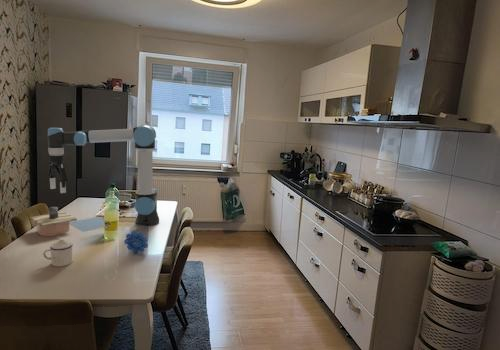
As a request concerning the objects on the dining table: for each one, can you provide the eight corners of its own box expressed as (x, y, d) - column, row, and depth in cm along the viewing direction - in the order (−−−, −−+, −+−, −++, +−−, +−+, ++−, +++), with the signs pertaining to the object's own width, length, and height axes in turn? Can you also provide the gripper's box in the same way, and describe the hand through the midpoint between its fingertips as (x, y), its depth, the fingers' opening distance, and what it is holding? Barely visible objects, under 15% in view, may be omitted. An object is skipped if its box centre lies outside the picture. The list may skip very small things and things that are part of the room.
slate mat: (118, 224, 212) (118, 224, 212) (83, 232, 195) (83, 231, 195) (101, 216, 226) (101, 216, 226) (67, 223, 209) (67, 222, 209)
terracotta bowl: (74, 231, 196) (74, 220, 195) (44, 238, 184) (43, 226, 182) (62, 224, 206) (62, 214, 205) (33, 230, 194) (33, 219, 192)
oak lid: (76, 220, 195) (76, 208, 194) (42, 226, 181) (42, 214, 180) (63, 213, 206) (63, 202, 205) (30, 219, 192) (30, 207, 191)
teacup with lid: (73, 257, 162) (73, 235, 160) (72, 265, 154) (71, 242, 152) (45, 260, 157) (44, 237, 155) (42, 269, 149) (40, 244, 147)
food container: (134, 205, 259) (134, 192, 257) (130, 207, 253) (130, 194, 251) (119, 203, 260) (119, 191, 258) (115, 205, 254) (115, 193, 252)
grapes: (123, 256, 167) (123, 234, 165) (124, 251, 173) (124, 229, 171) (147, 255, 170) (147, 233, 168) (147, 250, 176) (148, 229, 174)
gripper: (40, 152, 195) (42, 187, 198) (58, 157, 180) (60, 195, 183) (54, 152, 201) (55, 186, 204) (73, 156, 186) (74, 193, 189)
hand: (58, 190), depth 194 cm, fingers open, 13 cm apart
